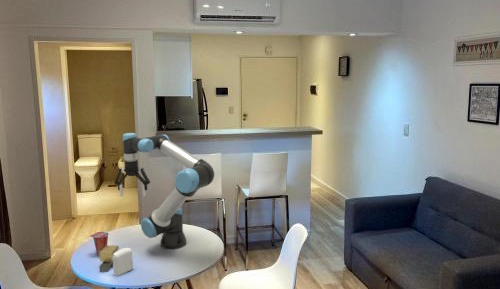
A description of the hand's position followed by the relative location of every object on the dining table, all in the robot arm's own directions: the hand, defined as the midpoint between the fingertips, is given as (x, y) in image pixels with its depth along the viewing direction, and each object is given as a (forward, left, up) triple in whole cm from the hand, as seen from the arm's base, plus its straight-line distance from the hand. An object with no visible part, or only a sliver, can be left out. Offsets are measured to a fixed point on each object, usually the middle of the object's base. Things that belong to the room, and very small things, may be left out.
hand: (133, 195), depth 238 cm
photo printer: (-3, +32, -31) cm, 45 cm away
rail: (+7, +24, -31) cm, 40 cm away
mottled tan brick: (+7, +24, -31) cm, 40 cm away
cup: (+16, +13, -31) cm, 37 cm away
